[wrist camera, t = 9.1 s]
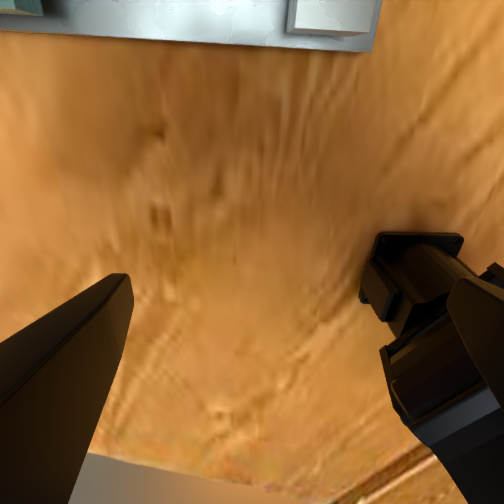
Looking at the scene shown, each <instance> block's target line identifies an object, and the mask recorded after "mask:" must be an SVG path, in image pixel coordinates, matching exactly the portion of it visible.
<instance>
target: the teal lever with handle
mask: <svg viewBox="0 0 504 504" xmlns="http://www.w3.org/2000/svg"><path fill="white" fill-rule="evenodd" d="M0 14H16V15H31V16H44V13H43V9H42V5H41V1H40V0H0Z"/></svg>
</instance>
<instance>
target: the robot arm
mask: <svg viewBox="0 0 504 504" xmlns="http://www.w3.org/2000/svg"><path fill="white" fill-rule="evenodd" d="M383 238H386V239H385V240H384V241H381V240H382V239H383ZM456 239H457V240H456ZM455 240H456V241H455ZM454 241H455V242H454ZM463 242H464V238H463V237H462V236H461V235H459V234H454V233H408V232H381V233H379V234H378V235H377V237H376V239H375V243H374V246H373V250H372V253H371V256H370V258H369V259H368V261H367V264H366V267H365V271H364V274H363V277H362V281H361V284H360V286H361V290H360V294H359V299H360V301H361V303H363V304H371V306H372V307H373V309H374V311H375V313H376V315H377V316H378V318H379V319H380V321H381V322H387V324H388V326H389V328H390V329H391V331H392V333H393V334H394V336H395V338H396V339H395V340H394V341H393V342H391V343H390V344H389V345H385V346H383V347H382V348H381V349H380V350H379V352H380V356H381V360H382V364H383V369H384V373H385V377H386V381H387V386H388V390H389V394H390V397H391V401H392V405H393V408H394V410H395V411H396V412H397V414H398V415H399V416H400V419H401V421H402V423H403V424H404V425H405V426H407V427H408V428H409V429H410V431H411V432H412V433H413V434H414V435H415V436H416V437H417V438H418V439H419V440H420V441H421V442H422V443H423V444H424V445H426V446H427V447H429V448H430V449H431V450H432V451H433V453H434V454H435V455H436V456H437V458H438V459H439V460H440V462H441V463H442V464H443V466H444V467H445V469H446V470H447V472H448V473H449V474H450V476H451V477H452V479H453V480H454V482H455V484H456V485H457V487H458V488H459V490H460V491H461V493H462V494H463V496H464V498H465V499H466V501H467V502H468V504H504V268H503V267H501V266H500V265H498V264H497V263H496V262H494V263H493V264H492V265H490V266H489V267H488V268H487V269H488V270H487V271H485V272H484V273H483V274H481V275H480V276H478V275H477V274H476V273H475V272H473V271H472V270H471V269H470V268H469V267H468V266H467V265H465V264H464V263H463V262H462V261H461V260H460V259H459V258H457V255H458V253H459V251H460V249H461V247H462V244H463ZM365 297H367V298H365ZM133 307H134V296H133V291H132V285H131V280H130V277H129V275H128V274H126V273H112V274H110V275H108V276H106V277H105V278H103V279H102V280H100V281H98V282H97V283H95V284H94V285H92V286H90V287H89V288H87V289H86V290H84V291H82V292H81V293H79V294H78V295H76V296H74V297H73V298H71V299H70V300H68V301H66V302H65V303H63V304H62V305H60V306H58V307H57V308H55V309H54V310H52V311H50V312H49V313H47V314H46V315H44V316H42V317H41V318H39V319H38V320H36V321H34V322H33V323H31V324H30V325H28V326H26V327H25V328H23V329H22V330H20V331H18V332H17V333H15V334H14V335H12V336H10V337H9V338H7V339H6V340H4V341H2V342H1V343H0V504H68V502H69V499H70V496H71V494H72V491H73V488H74V486H75V483H76V480H77V478H78V475H79V472H80V470H81V467H82V464H83V461H84V458H85V456H86V453H87V451H88V448H89V445H90V442H91V440H92V437H93V434H94V432H95V429H96V426H97V423H98V421H99V418H100V415H101V413H102V410H103V407H104V404H105V402H106V399H107V396H108V394H109V391H110V388H111V385H112V383H113V380H114V377H115V375H116V372H117V369H118V366H119V363H120V360H121V357H122V353H123V350H124V345H125V341H126V337H127V333H128V329H129V324H130V320H131V316H132V312H133Z"/></svg>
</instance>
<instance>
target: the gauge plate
mask: <svg viewBox="0 0 504 504" xmlns="http://www.w3.org/2000/svg"><path fill="white" fill-rule="evenodd" d="M40 1H41V5H42V9H43V13H44V16H31V15H16V14H0V31H6V32H23V33H39V34H55V35H72V36H88V37H104V38H121V39H137V40H153V41H170V42H186V43H202V44H219V45H235V46H251V47H268V48H284V49H300V50H317V51H333V52H349V53H369V52H372V47H373V42H374V37H375V33H376V28H377V23H378V18H379V14H380V9H381V4H382V0H40Z"/></svg>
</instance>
